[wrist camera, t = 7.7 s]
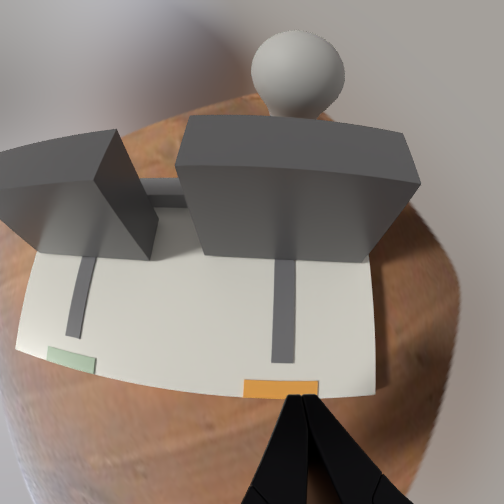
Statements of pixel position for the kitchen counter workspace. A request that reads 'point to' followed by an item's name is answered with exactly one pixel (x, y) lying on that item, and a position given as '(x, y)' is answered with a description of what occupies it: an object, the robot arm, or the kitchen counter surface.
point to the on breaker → (77, 198)
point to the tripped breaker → (292, 186)
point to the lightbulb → (297, 74)
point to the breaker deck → (204, 316)
